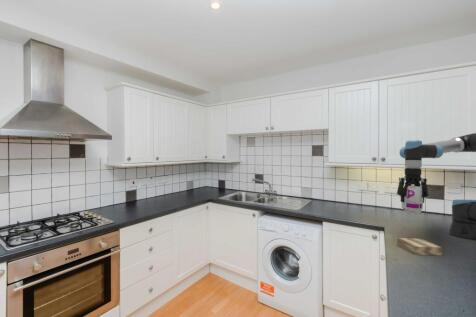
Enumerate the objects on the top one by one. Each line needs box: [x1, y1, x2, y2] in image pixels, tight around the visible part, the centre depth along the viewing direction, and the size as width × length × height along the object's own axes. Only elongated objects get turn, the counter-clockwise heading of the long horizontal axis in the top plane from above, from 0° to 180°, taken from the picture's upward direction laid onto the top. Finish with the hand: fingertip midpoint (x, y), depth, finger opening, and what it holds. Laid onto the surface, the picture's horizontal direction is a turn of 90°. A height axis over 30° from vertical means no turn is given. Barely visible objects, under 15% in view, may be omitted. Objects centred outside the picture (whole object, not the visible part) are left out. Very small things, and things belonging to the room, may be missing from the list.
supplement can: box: [402, 184, 423, 215], centre depth 129 cm, size 8×8×15 cm
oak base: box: [396, 237, 443, 256], centre depth 120 cm, size 13×13×4 cm
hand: (412, 208), depth 129 cm, fingers closed on supplement can, 8 cm apart
